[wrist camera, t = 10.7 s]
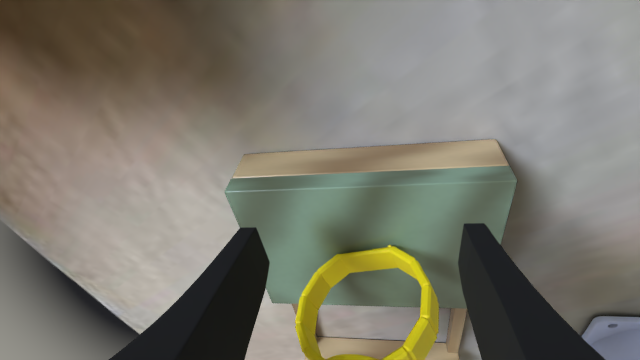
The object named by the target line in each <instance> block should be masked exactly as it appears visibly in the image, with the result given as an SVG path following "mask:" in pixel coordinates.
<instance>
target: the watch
mask: <svg viewBox="0 0 640 360" xmlns="http://www.w3.org/2000/svg"><path fill="white" fill-rule="evenodd" d="M392 268H399V269H401V270H402V271H404V272H405V273H407V274H409V275H410V276H412V277H413V278H415V279H416V280H418V282H419V284H420V286H421V288H422V290H421V308H420V318H419V319H418V321H417V323H416V324H415V326H414V327H413V329H412V331H411V332H410V334H409V336H408V337H407V339H406V341H405V342H404V344H403V346H401V347H400V348H398V349H397V350H395V351H393V352H392V353H390V354H389V355H387V356H386V357H384V358H382V359H381V360H425V358H426V356H427V355H428V353H429V351H430V349H431V348H432V346H433V344H434V342H435V340H436V339H437V336H436V334H437V333H438V326H439V303H438V301H437V300H438V299H437V297H436V294H435V292H434V290H433V288H432V286H431V283H430V282H429V280H428V278H427V276H426V274H425V273H424V271H423V269H422V267H421V266H420V264H419V262H418V261H417V260H416V259H415V258H414V257H413V256H411V255H409V254H407V253H406V252H404V251H402V250H400V249H399V248H397V247H395V246H391V245H388V247H385V248H378V249H372V250H366V251H358V252H351V253H343V254H337V255H335V256H334V257H333V258H332V259H330V260H329V261H328V262H327V263H325V264H324V265H323V266H321V267H320V268H319V269H318V270H317V272H315V273H314V275H313V276H312V278H311V280H310V281H309V283H308V284H307V286H306V287H305V289H304V291H303V292H302V294H301V295H302V296H301V297H300V299H299V304H298V310H297V315H296V321H295V323H296V326H295V328H296V332H297V335H298V338H299V342H300V345H301V349H302V352H303V353H304V354H305V356H306V357H307V358H308V359H309V360H379V359H375V358H372V357H369V356H364V355H358V354H341V355H335V356H332V357H330V358H328V359H324V358H323V357H322V356H321V353H320V350H319V347H318V344H317V341H316V338H315V330H316V322H317V315H318V310H319V308H320V306H321V304H322V303H323V301H324V299H325V298H326V296H327V294H328V293H329V291H330V289H331V288H332V287H333V286H334V285H336V284H337V283H338V282H339V281H341V280H342V279H343V278H344V277H346V276H347V275H348V274H349V273H354V272H364V271H373V270H382V269H392Z"/></svg>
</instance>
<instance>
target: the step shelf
mask: <svg viewBox="0 0 640 360" xmlns="http://www.w3.org/2000/svg"><path fill="white" fill-rule="evenodd" d="M516 184H517V179H516V177H515V175H514V173H513V171H512V169H511V167H510V166H509V164H508V162H507V160H506V158H505V156H504V154H503V152H502V150H501V148H500V146H499V144H498V143H497V141H496V139H488V140H471V141H455V142H438V143H422V144H405V145H389V146H372V147H356V148H339V149H323V150H306V151H290V152H273V153H257V154H245V155H244V156H243V157H242V159H241V161H240V163H239V165H238V167H237V169H236V171H235V173H234V175H233V177H232V179H231V180H230V182H229V184H228V186H227V188H226V190H225V194H226V197H227V199H228V201H229V204H230V206H231V208H232V211H233V213H234V215H235V218H236V220H237V222H238V225H239V227H240V228H244V227H256V228H257V231H258V233H259V236H260V238H261V241H262V243H263V246H264V249H265V251H266V254H267V256H268V259H269V261H270V265H269V271H268V277H267V283H266V289H267V292H268V294H269V296H270V299H271V301H272V303H286V304H292V306H293V308H294V311H295V314H296V315H297V310H298V304H299V299H300V297H301V296H302V295H301V294H302V292H303V291H304V289H305V287H306V286H307V284H308V283H309V281H310V280H311V278H312V276H313V275H314V273H315V272H317V270H318V269H319V268H320V267H321V266H323V265H324V264H325V263H327V262H328V261H329V260H330V259H332V258H333V257H334V256H335V255H337V254H343V253H351V252H358V251H366V250H372V249H378V248H385V247H388V245H391V246H395V247H397V248H399V249H400V250H402V251H404V252H406V253H407V254H409V255H411V256H413V257H414V258H415V259H416V260H417V261H418V262H419V264H420V266H421V267H422V269H423V271H424V273H425V274H426V276H427V278H428V280H429V282H430V283H431V286H432V288H433V290H434V292H435V294H436V297H437V299H438V300H437V301H438V303H439V308H451V314H450V320H449V326H448V333H447V339H446V343H434V344H433V346H432V348H431V349H430V351H429V353H428V355H427V356H426V358H425V360H459V355H458V351H459V346H460V341H461V336H462V332H463V327H464V322H465V317H466V312H467V306H466V302H465V299H464V295H463V291H462V285H461V279H460V273H459V267H458V258H459V252H460V245H461V239H462V232H463V226H464V224H466V223H484V224H485V225H487V227H488V228H489V230H490V231H491V233H492V234H493V235H494V237H495V238H496V240H497V241H498V242H499V244H500V245H501V241H502V237H503V234H504V230H505V226H506V222H507V218H508V215H509V211H510V207H511V203H512V199H513V196H514V192H515V188H516ZM421 290H422V288H421V286H420V284H419V282H418V280H416V279H415V278H413V277H412V276H410V275H409V274H407V273H405V272H404V271H402V270H401V269H399V268H392V269H382V270H373V271H364V272H354V273H349V274H348V275H347V276H346V277H344V278H343V279H342V280H341V281H339V282H338V283H337V284H336V285H334V286H333V287H332V288H331V289H330V291H329V293H328V294H327V296H326V298H325V299H324V301H323V303H322V304H321V305H356V306H391V307H421ZM315 338H316V341H317V344H318V347H319V350H320V353H321V356H322V357H323V358H324V359H328V358H330V357H332V356H335V355H341V354H358V355H364V356H369V357H372V358H375V359H379V360H381V359H382V358H384V357H386V356H387V355H389V354H390V353H392V352H393V351H395V350H397V349H398V348H400V347H401V346H403V344H404V342H405V341H392V340H371V339H350V338H329V337H317V335H316V332H315ZM305 360H309V359H308V358H307V357H306V356H305Z"/></svg>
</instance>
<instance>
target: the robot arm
mask: <svg viewBox="0 0 640 360" xmlns="http://www.w3.org/2000/svg"><path fill="white" fill-rule="evenodd" d="M269 265H270V261H269V259H268V256H267V254H266V251H265V249H264V246H263V243H262V241H261V238H260V236H259V233H258V231H257V228H256V227H244V228H240V229H239V230H238V231H237V233H236V234H235V235H234V236H233V237H232V239H231V240H230V241H229V242H228V243H227V245H226V246H225V247H224V248H223V250H222V251H221V252H220V253H219V254H218V256H217V257H216V258H215V259H214V260H213V262H212V263H211V264H210V265H209V266H208V267H207V269H206V270H205V271H204V272H203V273H202V274H201V276H200V277H199V278H198V279H197V280H196V281H195V282H194V283H193V284H192V285H191V286H190V288H189V289H188V290H187V291H186V292H185V293H184V294H183V295H182V296H181V297H180V298H179V299H178V300H177V301H176V302H175V303H174V304H173V305H172V306H171V307H170V308H169V309H168V310H167V311H166V312H165V313H164V314H163V315H162V316H161V317H160V318H159V319H158V320H156V321H155V322H154V323H153V324H152V325H151V326H150V327H149V328H147V329H146V330H145V331H144V332H143V333H141V334H140V335H139V336H138V337H137V338H136V339H134V340H133V341H132V342H131V343H129V344H128V345H127V346H126V347H125V348H123V349H122V350H121V351H119V352H118V353H117V354H116V355H114V356H113V357H112V358H110V359H109V360H244V359H245V355H246V352H247V348H248V344H249V341H250V338H251V335H252V331H253V328H254V325H255V322H256V318H257V315H258V312H259V309H260V305H261V302H262V298H263V295H264V292H265V288H266V283H267V277H268V271H269ZM458 267H459V273H460V279H461V285H462V291H463V295H464V299H465V302H466V306H467V309H468V313H469V316H470V320H471V323H472V326H473V330H474V333H475V337H476V340H477V344H478V347H479V351H480V354H481V357H482V360H640V317H616V316H599V317H596V318H594V319H593V320H592V322H591V323H590V325H589V326H588V328H587V329H586V331H585V332H584V334H583V335H582V337H581V336H580V335H579V334H578V333H577V332H576V331H575V330H574V329H573V328H572V327H571V326H570V325H569V324H568V323H567V322H566V321H565V320H564V319H563V318H562V317H561V316H560V315H559V314H558V313H557V312H556V311H555V310H554V309H553V308H552V307H551V306H550V304H549V303H548V302H547V301H546V300H545V299H544V298H543V297H542V296H541V295H540V293H539V292H538V291H537V290H536V289H535V288H534V287H533V285H532V284H531V283H530V282H529V281H528V279H527V278H526V277H525V276H524V275H523V273H522V272H521V271H520V270H519V269H518V267H517V266H516V265H515V264H514V262H513V261H512V260H511V258H510V257H509V256H508V255H507V253H506V252H505V251H504V249H503V248H502V247H501V245H500V244H499V242H498V241H497V240H496V238H495V237H494V235H493V234H492V233H491V231H490V230H489V228H488V227H487V225H485V224H484V223H466V224H464V226H463V232H462V239H461V245H460V252H459V258H458Z"/></svg>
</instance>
